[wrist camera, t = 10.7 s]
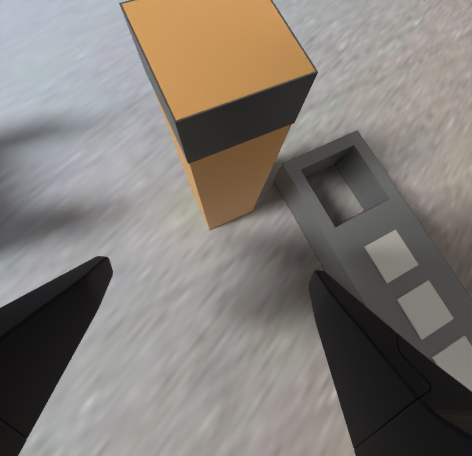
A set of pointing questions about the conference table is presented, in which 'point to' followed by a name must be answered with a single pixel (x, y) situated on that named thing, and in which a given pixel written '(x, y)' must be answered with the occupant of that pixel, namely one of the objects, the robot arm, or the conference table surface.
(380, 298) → the power strip
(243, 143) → the plug
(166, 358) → the conference table surface
